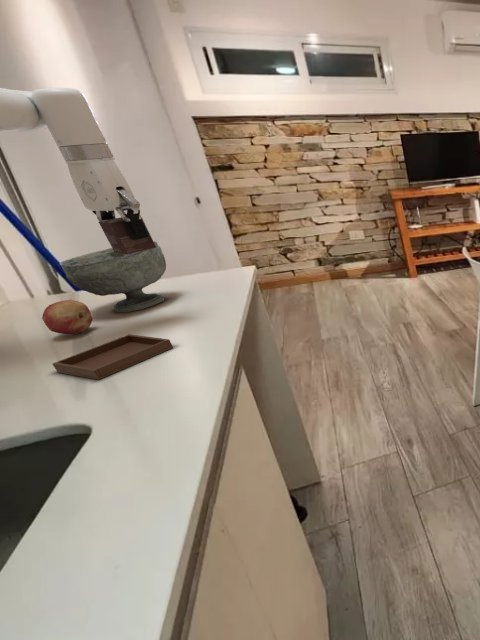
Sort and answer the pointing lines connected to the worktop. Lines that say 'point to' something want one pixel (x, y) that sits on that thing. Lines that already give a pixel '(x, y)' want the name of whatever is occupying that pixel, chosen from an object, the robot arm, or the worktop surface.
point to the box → (124, 237)
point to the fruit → (67, 317)
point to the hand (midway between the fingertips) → (129, 237)
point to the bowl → (118, 275)
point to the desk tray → (112, 356)
